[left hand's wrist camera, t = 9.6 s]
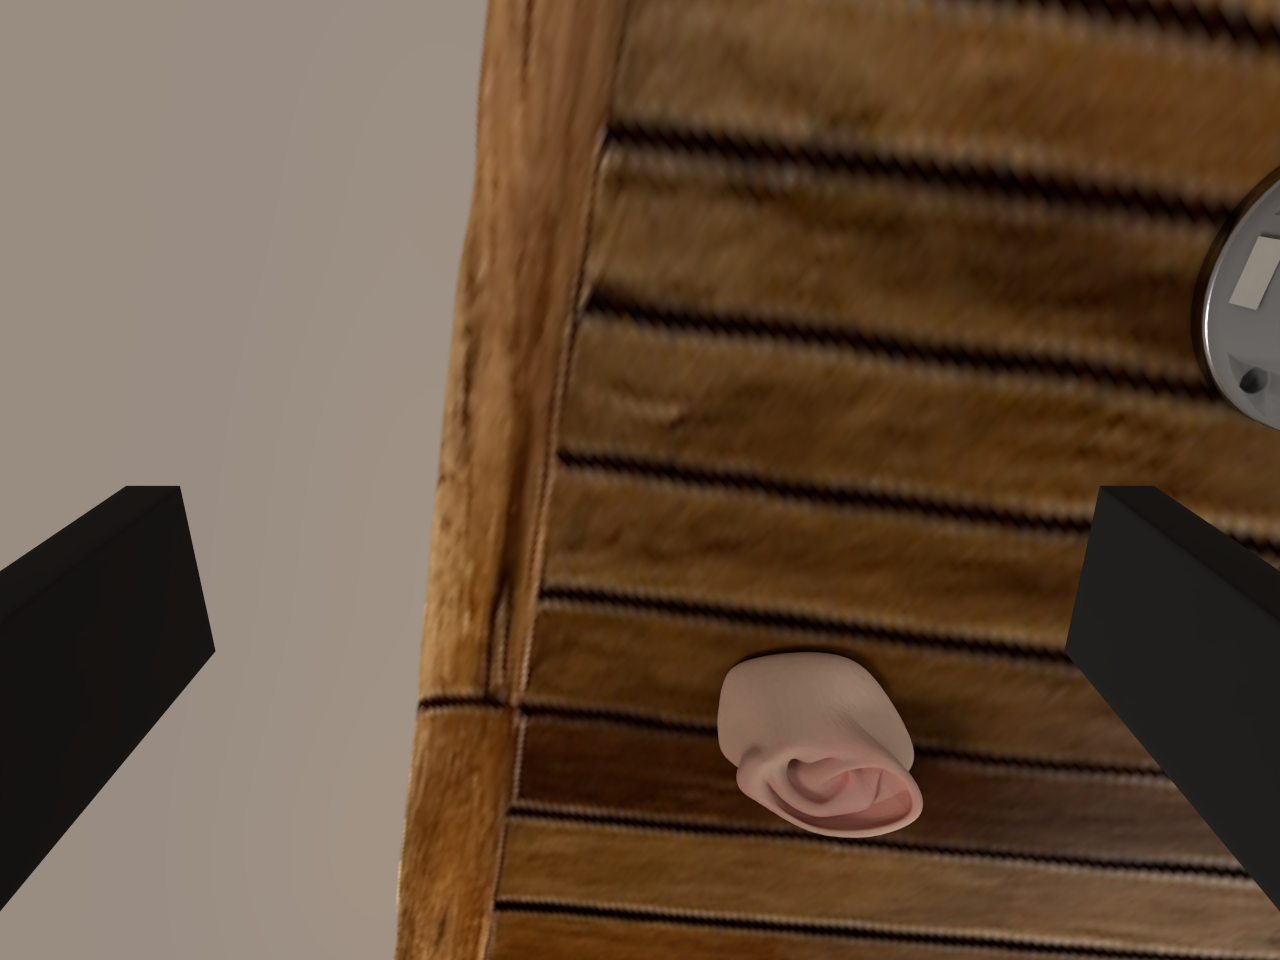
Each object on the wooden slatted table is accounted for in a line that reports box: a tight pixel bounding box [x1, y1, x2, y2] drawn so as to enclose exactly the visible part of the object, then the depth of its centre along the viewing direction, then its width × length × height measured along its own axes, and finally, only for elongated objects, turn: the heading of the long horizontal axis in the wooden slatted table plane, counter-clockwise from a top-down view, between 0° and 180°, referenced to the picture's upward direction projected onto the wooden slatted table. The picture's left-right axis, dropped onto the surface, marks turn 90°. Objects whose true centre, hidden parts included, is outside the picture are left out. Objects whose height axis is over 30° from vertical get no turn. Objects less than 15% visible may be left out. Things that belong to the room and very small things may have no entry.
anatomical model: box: [717, 652, 923, 837], centre depth 53 cm, size 13×4×12 cm
